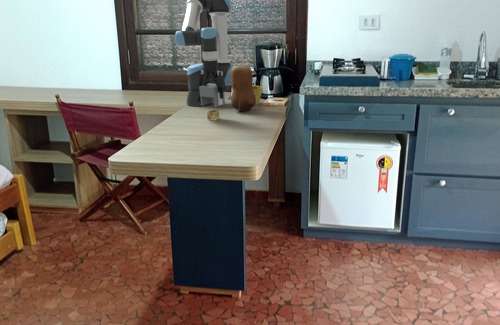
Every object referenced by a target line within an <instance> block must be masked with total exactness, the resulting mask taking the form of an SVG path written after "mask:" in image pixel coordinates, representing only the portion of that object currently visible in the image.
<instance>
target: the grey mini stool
mask: <svg viewBox="0 0 500 325" xmlns="http://www.w3.org/2000/svg"><path fill="white" fill-rule="evenodd" d="M199 90H200V96H201V106H200V107H204V106H203V105H205V104H208V103H212V104H214V108H218V107H219V106H220V107H221V106H222V105H225V104H226V102H225V91H224V92H223V98H222V103H223V104H222V105H218V92H219V91H218V87H217V86H216V84H212V83H209V84H207V85H202V86H199ZM205 106H206V105H205Z"/></svg>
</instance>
